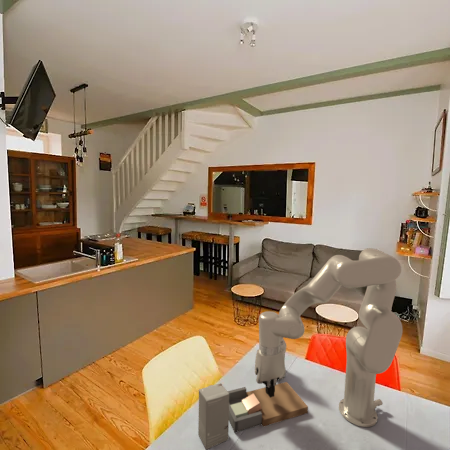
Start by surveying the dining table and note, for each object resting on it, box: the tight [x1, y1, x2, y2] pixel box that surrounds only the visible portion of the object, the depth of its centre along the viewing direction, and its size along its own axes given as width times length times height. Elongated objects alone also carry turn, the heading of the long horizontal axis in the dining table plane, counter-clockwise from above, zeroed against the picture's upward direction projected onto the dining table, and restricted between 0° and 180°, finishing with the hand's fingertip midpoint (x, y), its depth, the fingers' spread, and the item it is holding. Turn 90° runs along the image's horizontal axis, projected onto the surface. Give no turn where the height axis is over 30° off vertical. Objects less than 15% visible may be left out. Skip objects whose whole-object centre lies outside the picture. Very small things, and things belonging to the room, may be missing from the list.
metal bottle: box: [278, 337, 287, 381], centre depth 120 cm, size 6×7×20 cm
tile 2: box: [242, 393, 262, 415], centre depth 100 cm, size 5×5×2 cm
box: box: [227, 386, 262, 433], centre depth 101 cm, size 10×14×4 cm
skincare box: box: [197, 382, 230, 450], centre depth 90 cm, size 8×7×16 cm
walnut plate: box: [246, 381, 309, 427], centre depth 105 cm, size 18×14×2 cm
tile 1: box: [230, 402, 248, 418], centre depth 99 cm, size 5×5×2 cm
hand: (270, 394), depth 103 cm, fingers closed
